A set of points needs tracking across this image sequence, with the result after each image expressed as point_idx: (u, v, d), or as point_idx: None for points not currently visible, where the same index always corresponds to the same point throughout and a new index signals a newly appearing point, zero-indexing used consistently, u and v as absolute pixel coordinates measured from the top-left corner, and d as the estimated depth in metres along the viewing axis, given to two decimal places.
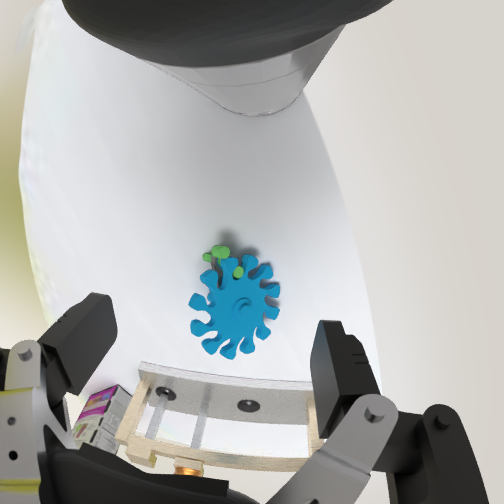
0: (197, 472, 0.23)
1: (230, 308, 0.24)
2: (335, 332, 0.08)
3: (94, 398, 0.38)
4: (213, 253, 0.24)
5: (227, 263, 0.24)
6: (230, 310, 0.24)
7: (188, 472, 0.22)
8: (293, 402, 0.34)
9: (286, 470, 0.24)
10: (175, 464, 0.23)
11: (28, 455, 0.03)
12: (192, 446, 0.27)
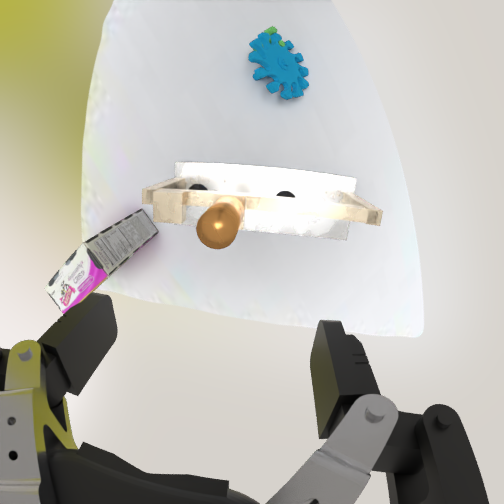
0: (241, 203, 0.25)
1: (276, 57, 0.28)
2: (335, 332, 0.08)
3: None
4: (265, 31, 0.28)
5: (275, 34, 0.27)
6: (276, 58, 0.28)
7: (231, 197, 0.25)
8: (330, 194, 0.37)
9: (341, 215, 0.27)
10: (215, 194, 0.26)
11: (28, 455, 0.03)
12: None
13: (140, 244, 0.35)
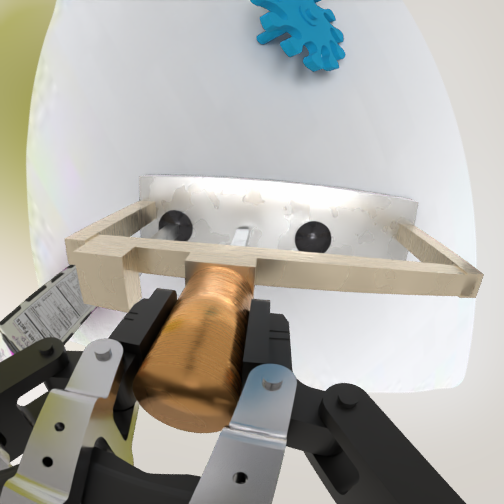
0: (246, 282, 0.12)
1: (297, 5, 0.14)
2: (260, 309, 0.09)
3: None
4: None
5: None
6: (297, 6, 0.14)
7: (223, 273, 0.11)
8: (381, 227, 0.23)
9: (427, 288, 0.13)
10: (189, 260, 0.12)
11: (65, 469, 0.03)
12: None
13: (93, 306, 0.22)
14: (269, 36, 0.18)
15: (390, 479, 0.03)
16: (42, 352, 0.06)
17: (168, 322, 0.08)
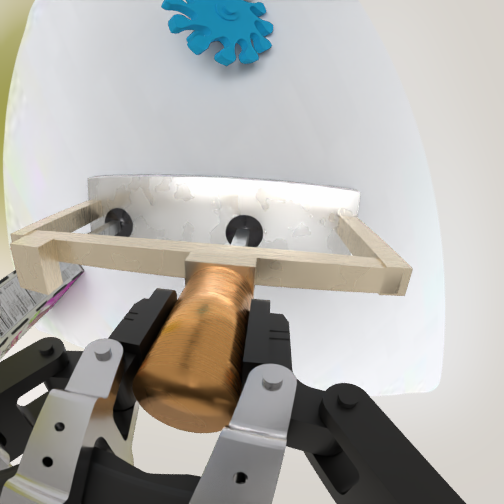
0: (246, 282, 0.12)
1: (214, 2, 0.14)
2: (260, 309, 0.09)
3: None
4: None
5: None
6: (213, 4, 0.14)
7: (223, 273, 0.11)
8: (317, 219, 0.23)
9: (329, 282, 0.13)
10: (189, 260, 0.12)
11: (65, 468, 0.03)
12: None
13: (49, 296, 0.22)
14: (195, 36, 0.18)
15: (390, 479, 0.03)
16: (42, 352, 0.06)
17: (168, 322, 0.08)
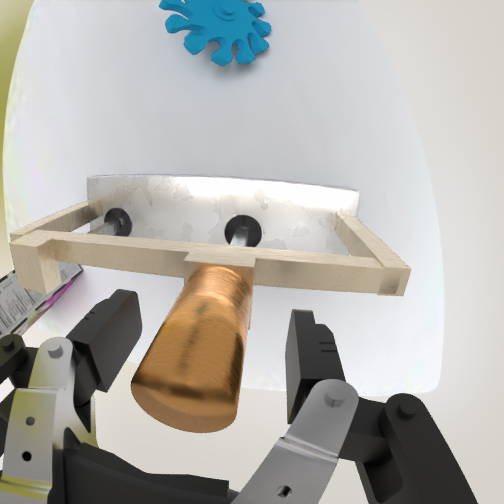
0: (244, 282, 0.12)
1: (211, 2, 0.14)
2: (305, 320, 0.09)
3: None
4: None
5: None
6: (211, 4, 0.14)
7: (222, 273, 0.11)
8: (316, 219, 0.23)
9: (327, 283, 0.13)
10: (188, 260, 0.12)
11: (43, 458, 0.03)
12: None
13: (48, 295, 0.22)
14: (193, 35, 0.18)
15: (430, 490, 0.03)
16: (5, 348, 0.05)
17: (166, 322, 0.08)
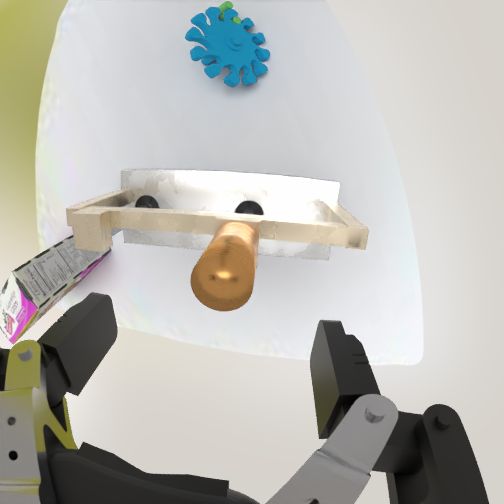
0: (254, 232, 0.18)
1: (224, 35, 0.21)
2: (335, 332, 0.08)
3: None
4: (219, 7, 0.21)
5: (229, 10, 0.20)
6: (224, 37, 0.21)
7: (240, 224, 0.18)
8: (306, 204, 0.30)
9: (309, 237, 0.20)
10: (217, 218, 0.18)
11: (29, 455, 0.03)
12: None
13: (84, 267, 0.28)
14: (208, 59, 0.25)
15: (453, 502, 0.02)
16: None
17: (210, 244, 0.15)
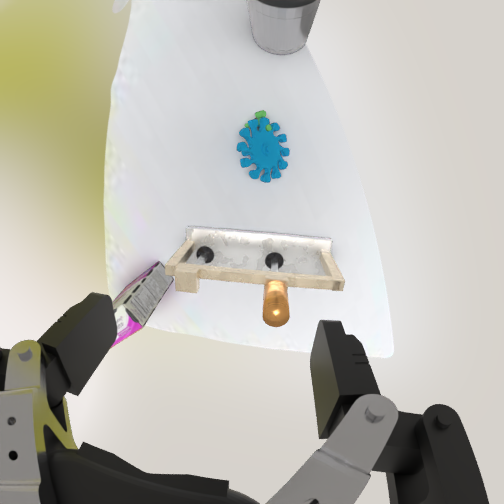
0: (285, 285, 0.36)
1: (261, 144, 0.38)
2: (335, 332, 0.08)
3: None
4: (256, 114, 0.38)
5: (264, 119, 0.38)
6: (261, 145, 0.38)
7: (279, 282, 0.35)
8: (310, 254, 0.47)
9: (312, 285, 0.37)
10: (266, 278, 0.36)
11: (29, 455, 0.03)
12: None
13: (161, 295, 0.46)
14: (247, 154, 0.42)
15: (452, 502, 0.02)
16: None
17: (268, 296, 0.33)
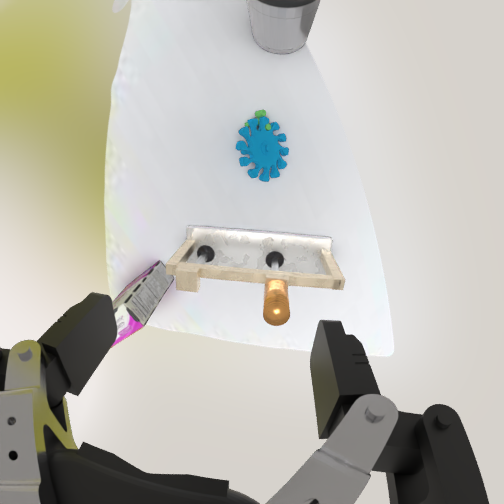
0: (285, 284, 0.36)
1: (260, 143, 0.38)
2: (335, 332, 0.08)
3: (132, 281, 0.52)
4: (256, 113, 0.38)
5: (263, 118, 0.38)
6: (260, 145, 0.39)
7: (279, 281, 0.35)
8: (310, 253, 0.47)
9: (313, 284, 0.38)
10: (267, 277, 0.36)
11: (28, 455, 0.03)
12: None
13: (162, 294, 0.46)
14: (247, 153, 0.42)
15: (452, 502, 0.02)
16: None
17: (269, 295, 0.33)
